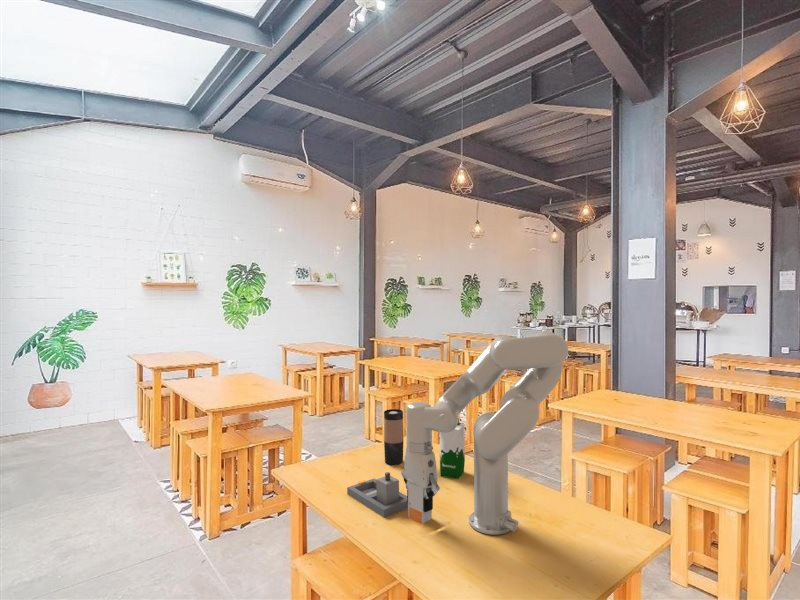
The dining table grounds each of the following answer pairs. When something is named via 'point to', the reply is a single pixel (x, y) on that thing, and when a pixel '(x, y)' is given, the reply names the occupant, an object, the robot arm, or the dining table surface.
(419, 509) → the skincare box
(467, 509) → the dining table surface
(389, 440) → the travel mug
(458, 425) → the milk carton
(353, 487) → the pdu strip
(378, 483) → the single plug
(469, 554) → the dining table surface
